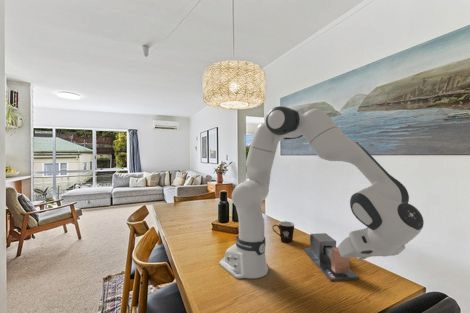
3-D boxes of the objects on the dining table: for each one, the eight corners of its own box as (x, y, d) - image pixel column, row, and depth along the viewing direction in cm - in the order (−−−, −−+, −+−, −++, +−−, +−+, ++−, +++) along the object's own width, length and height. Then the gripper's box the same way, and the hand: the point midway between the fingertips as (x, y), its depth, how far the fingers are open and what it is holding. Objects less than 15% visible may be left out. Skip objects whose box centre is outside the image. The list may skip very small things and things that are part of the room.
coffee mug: (297, 240, 130) (297, 223, 130) (289, 245, 124) (289, 227, 124) (279, 235, 138) (279, 219, 138) (271, 239, 132) (271, 222, 132)
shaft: (349, 272, 93) (349, 250, 93) (335, 272, 92) (335, 250, 92) (328, 253, 110) (328, 235, 110) (316, 254, 109) (316, 235, 109)
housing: (359, 279, 91) (359, 254, 91) (330, 280, 90) (330, 255, 90) (325, 249, 119) (325, 230, 119) (303, 250, 118) (303, 231, 118)
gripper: (405, 229, 74) (383, 246, 84) (345, 231, 73) (329, 249, 82) (417, 249, 70) (392, 264, 80) (353, 251, 68) (336, 267, 78)
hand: (360, 256), depth 81 cm, fingers closed
